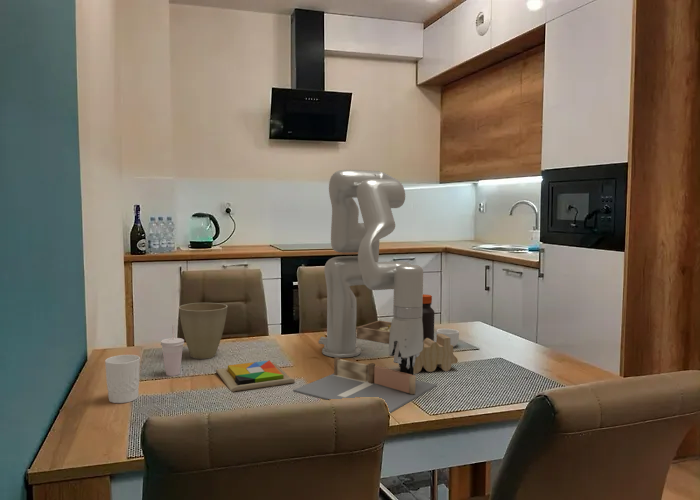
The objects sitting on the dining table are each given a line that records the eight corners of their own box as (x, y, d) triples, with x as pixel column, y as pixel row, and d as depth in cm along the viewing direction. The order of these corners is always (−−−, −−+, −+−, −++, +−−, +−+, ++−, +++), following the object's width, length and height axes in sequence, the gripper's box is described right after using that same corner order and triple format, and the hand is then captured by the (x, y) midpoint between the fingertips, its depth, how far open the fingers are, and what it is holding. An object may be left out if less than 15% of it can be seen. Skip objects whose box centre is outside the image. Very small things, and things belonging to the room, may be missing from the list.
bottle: (427, 354, 181) (428, 293, 179) (437, 359, 175) (438, 296, 173) (408, 355, 179) (409, 294, 177) (417, 361, 172) (418, 297, 171)
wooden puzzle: (232, 395, 142) (232, 381, 142) (214, 375, 158) (214, 363, 158) (296, 385, 150) (296, 372, 150) (272, 367, 167) (272, 355, 166)
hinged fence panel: (373, 383, 148) (374, 366, 148) (377, 381, 149) (377, 365, 149) (412, 394, 140) (413, 377, 139) (416, 393, 141) (416, 375, 141)
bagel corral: (356, 338, 202) (356, 327, 202) (378, 330, 215) (379, 320, 215) (393, 344, 194) (393, 333, 193) (414, 336, 206) (414, 325, 206)
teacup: (463, 347, 190) (463, 332, 189) (444, 350, 187) (444, 334, 186) (446, 341, 199) (447, 326, 199) (428, 343, 196) (428, 328, 195)
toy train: (457, 370, 163) (458, 337, 162) (402, 374, 159) (403, 340, 158) (449, 365, 169) (450, 333, 168) (396, 369, 164) (396, 335, 164)
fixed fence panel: (376, 382, 150) (376, 364, 150) (372, 384, 149) (372, 365, 148) (336, 373, 158) (336, 356, 157) (332, 375, 156) (333, 357, 156)
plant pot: (204, 365, 166) (203, 312, 165) (169, 357, 174) (168, 307, 172) (237, 353, 179) (237, 305, 178) (203, 347, 186) (203, 300, 185)
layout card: (293, 391, 143) (293, 389, 143) (350, 367, 165) (350, 366, 165) (386, 415, 127) (386, 413, 127) (436, 385, 149) (436, 384, 149)
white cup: (112, 393, 140) (111, 354, 139) (144, 393, 141) (143, 354, 140) (101, 404, 132) (100, 363, 132) (135, 404, 133) (134, 363, 132)
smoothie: (189, 372, 159) (188, 323, 158) (175, 378, 153) (174, 328, 152) (170, 369, 161) (169, 322, 160) (156, 376, 155) (155, 326, 154)
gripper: (411, 306, 152) (409, 372, 154) (379, 314, 141) (378, 385, 142) (435, 310, 147) (433, 377, 149) (404, 318, 136) (402, 391, 137)
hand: (406, 381), depth 145 cm, fingers closed
